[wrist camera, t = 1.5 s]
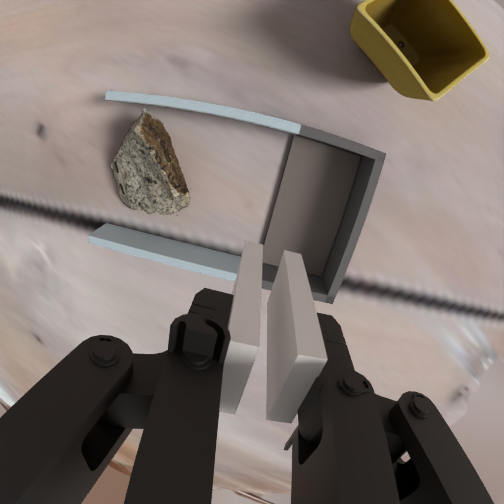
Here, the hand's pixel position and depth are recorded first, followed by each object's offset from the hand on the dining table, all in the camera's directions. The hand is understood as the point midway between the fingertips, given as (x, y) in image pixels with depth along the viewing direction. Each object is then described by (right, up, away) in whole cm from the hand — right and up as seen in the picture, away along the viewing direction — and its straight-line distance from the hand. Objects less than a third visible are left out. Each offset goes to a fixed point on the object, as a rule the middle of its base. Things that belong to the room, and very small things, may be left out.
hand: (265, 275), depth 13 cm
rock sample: (-10, +9, +15) cm, 20 cm away
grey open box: (+5, +5, +15) cm, 17 cm away
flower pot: (+13, +21, +9) cm, 26 cm away
